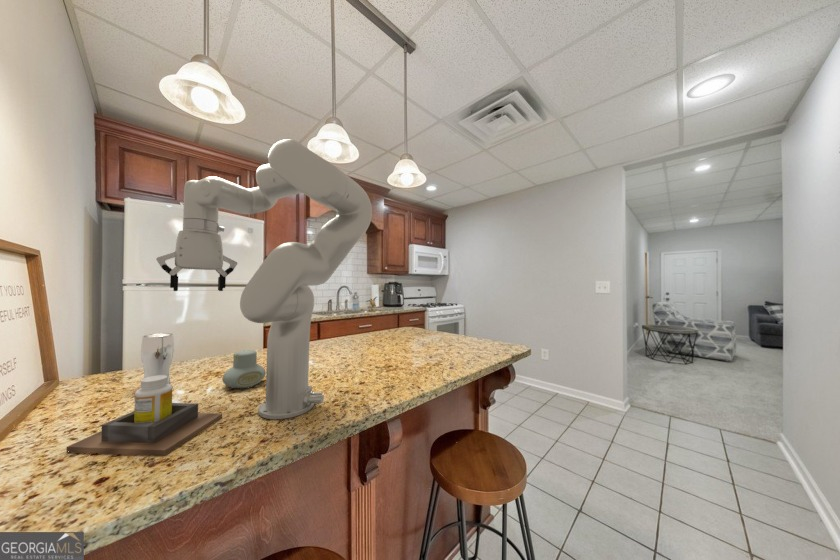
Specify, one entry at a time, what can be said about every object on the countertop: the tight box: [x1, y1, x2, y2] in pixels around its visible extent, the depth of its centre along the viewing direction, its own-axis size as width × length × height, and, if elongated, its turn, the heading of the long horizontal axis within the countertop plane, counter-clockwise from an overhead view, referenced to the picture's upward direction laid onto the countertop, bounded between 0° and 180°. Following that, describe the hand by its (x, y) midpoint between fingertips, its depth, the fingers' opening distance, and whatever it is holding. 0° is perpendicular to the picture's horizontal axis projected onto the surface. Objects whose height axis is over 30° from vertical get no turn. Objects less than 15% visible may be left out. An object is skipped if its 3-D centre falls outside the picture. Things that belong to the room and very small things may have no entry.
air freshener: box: [222, 349, 266, 390], centre depth 84 cm, size 11×8×10 cm
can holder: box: [66, 402, 223, 457], centre depth 57 cm, size 18×14×4 cm
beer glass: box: [140, 332, 175, 385], centre depth 82 cm, size 7×7×15 cm
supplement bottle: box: [134, 375, 173, 423], centre depth 57 cm, size 6×6×10 cm
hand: (198, 290), depth 76 cm, fingers open, 9 cm apart
